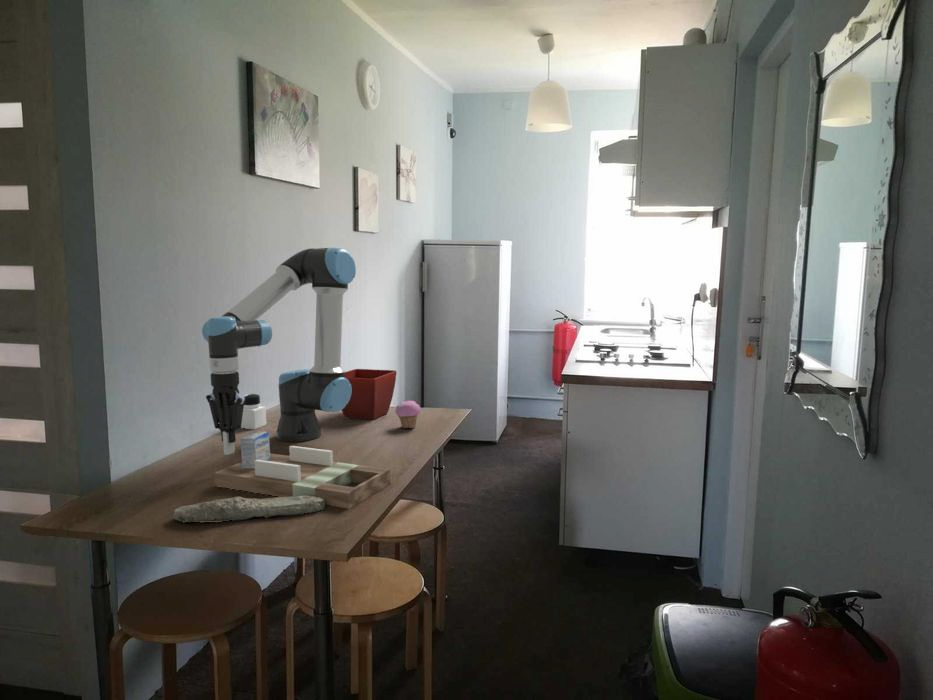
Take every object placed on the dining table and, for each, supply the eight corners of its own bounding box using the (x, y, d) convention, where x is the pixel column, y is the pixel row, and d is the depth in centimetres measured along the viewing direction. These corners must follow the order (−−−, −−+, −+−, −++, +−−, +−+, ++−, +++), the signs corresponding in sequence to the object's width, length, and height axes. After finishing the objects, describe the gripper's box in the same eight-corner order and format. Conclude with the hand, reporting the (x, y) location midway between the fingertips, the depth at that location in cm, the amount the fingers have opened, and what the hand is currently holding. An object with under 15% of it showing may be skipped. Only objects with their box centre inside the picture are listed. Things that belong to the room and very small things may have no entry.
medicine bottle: (266, 425, 248) (265, 393, 246) (254, 429, 241) (253, 397, 240) (250, 423, 250) (248, 392, 249) (238, 428, 244) (236, 396, 242)
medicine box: (256, 469, 182) (254, 438, 181) (241, 468, 183) (239, 438, 182) (270, 461, 189) (269, 431, 188) (256, 460, 190) (254, 430, 189)
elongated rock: (325, 521, 159) (325, 508, 169) (325, 500, 159) (325, 488, 169) (168, 528, 152) (177, 514, 161) (168, 505, 151) (177, 493, 161)
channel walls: (292, 459, 191) (291, 445, 190) (333, 464, 185) (332, 450, 185) (255, 475, 177) (254, 460, 176) (298, 481, 171) (297, 466, 171)
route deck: (265, 465, 198) (265, 452, 198) (390, 483, 181) (390, 469, 180) (215, 486, 180) (214, 472, 180) (349, 508, 163) (348, 493, 162)
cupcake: (421, 424, 245) (420, 398, 244) (420, 430, 237) (419, 403, 235) (396, 425, 245) (396, 398, 244) (395, 431, 236) (394, 403, 235)
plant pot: (331, 419, 256) (329, 376, 253) (357, 408, 273) (355, 368, 271) (375, 423, 249) (373, 378, 246) (399, 412, 266) (397, 370, 264)
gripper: (196, 372, 186) (202, 454, 189) (232, 375, 181) (237, 459, 184) (216, 368, 193) (221, 447, 196) (252, 371, 188) (256, 452, 191)
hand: (229, 453), depth 190 cm, fingers closed
